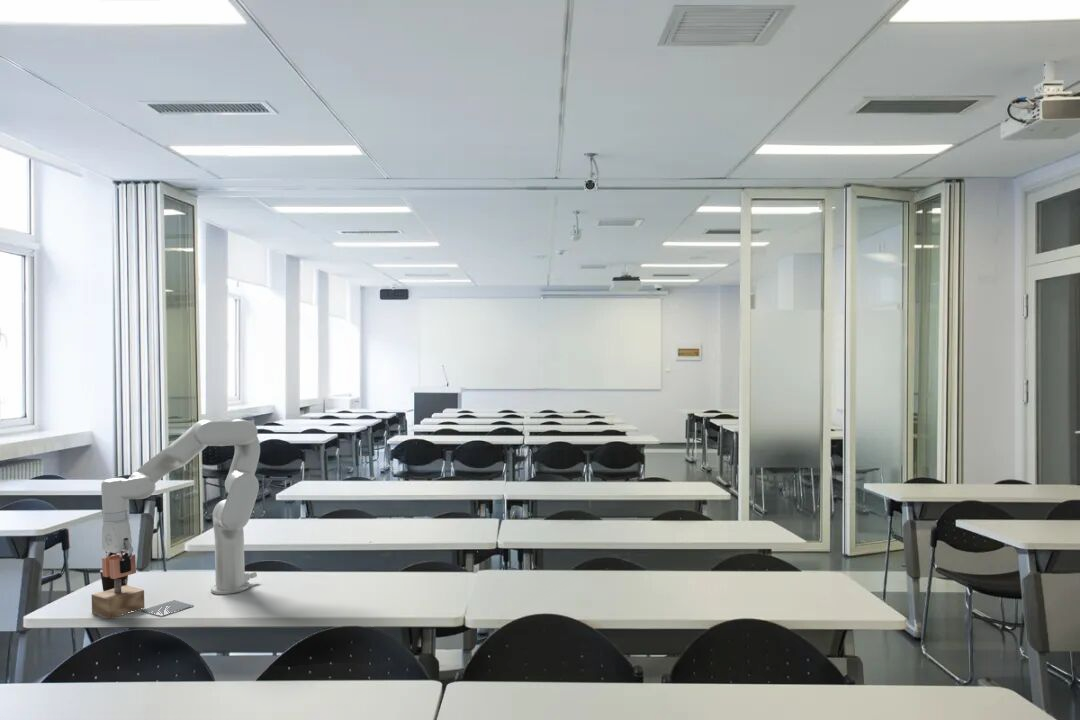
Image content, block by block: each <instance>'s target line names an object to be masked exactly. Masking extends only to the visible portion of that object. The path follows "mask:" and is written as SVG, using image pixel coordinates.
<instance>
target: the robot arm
mask: <svg viewBox="0 0 1080 720" xmlns="http://www.w3.org/2000/svg"><path fill="white" fill-rule="evenodd" d="M208 446H209V447H210V446H211V447H225V446H227V447H228V446H234V454H233V458H232V460H231V461H232V462H231V464H230V468H229V471H228V474H227V475H226V479H225V482H224V488H225V490H226V492H227V497H226V499H223V500H220V501H219V502H218V503H216V505H215V507H214V508H213V511H212V524H213V532H214V533H213V535H214V536H213V537H214V564H215V565H214V566H215V567H214V569H215V574H214V575H215V585H212V586H211V588H210V592H211V593H212V594H215V595H231V594H236V593H241V592H244V591H246V590H248V589H249V588H250V586H251V584H250V582H249V580H250V579H254V578H257V575H258V574H257V572H256V571H252V572H251V573H249V572H246V571H245V570H246V569H245V534H244V532H245V531H244V527H246V525H247V524H248V523H249V520H250V519H251V516H252V513H253V509H254V507H255V504H256V500H257V498H258V493H259V490H260V489H259V488H260V483H259V482H260V481H259V480H258V478H257V477H256V475H255V474H256V471H257V468H258V463H259V459H260V455H261V444H260V440H259V438H258V428H257V426H256V424H254V423H253V422H252V421H250V420H247V419H243V418H236V419H233V420H229V421H228V420H227V421H225V420H221V421H220V420H211V419H201V420H199V421H197V422H195V423H194V424H193V425H192V426H191V427H189V428H188V429H187V430H186V431H185V432H183V433H182V434H181V435H179V437H177V438H176V439H175V440H174V441H173V442H171V443H170V444H169V445H168V446H167V447H165V448H164V449H162V450H161V451H160V452H158V453H157V454H156V455H154V456H153V457H151V458H150V459H149V460H147V461H145V463H144V464H143V465H141V466H140V467H139V468H138V469H137V470H135V471H134V472H133V473H132V474H131V475H130V476H129V477H128V478H125V477H114V478H113V477H112V478H106V479H105V480H103V481H102V482H101V488H100V489H101V491H100V492H101V504H102V508H101V509H102V528H101V531H102V532H101V548H102V551H104V552H105V557H107V556H111V555H115V554H119V555H120V559H121V561H120V573H126V572H129V571H131V555H132V554H133V552H134V547H133V543H132V539H133V538H132V532H131V531H132V530H131V526H130V521H129V520H131V519H130V517H131V516H130V503H129V502H130V501H129V500H142V499H147V498H149V497H151V496H152V495H153V494H154V493H155V490H156V483H158V482H159V481H161V479H162V478H164V477H165V476H166V475H168V474H170V473H171V472H173V471H175V470H177V469H180V468H182V467H184V466H186V465H187V464H189V463H190V462H191V461H192V460H193V459H195V457H196V456H198V454H200V453H201V452H202V451H204V450H205V449H206V448H207V447H208ZM123 553H125V554H124V556H123Z"/></svg>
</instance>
